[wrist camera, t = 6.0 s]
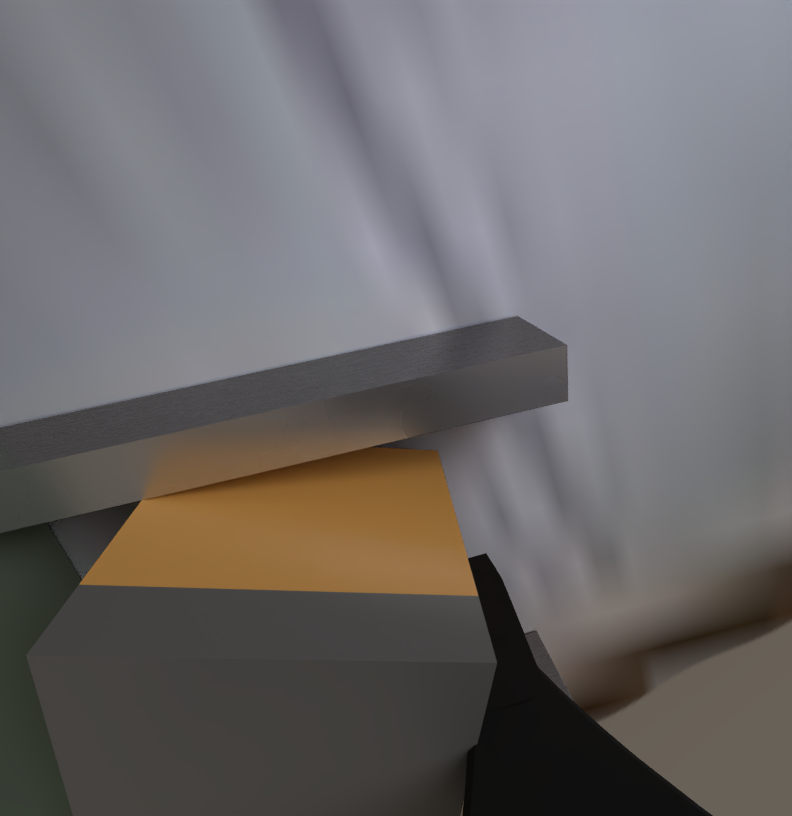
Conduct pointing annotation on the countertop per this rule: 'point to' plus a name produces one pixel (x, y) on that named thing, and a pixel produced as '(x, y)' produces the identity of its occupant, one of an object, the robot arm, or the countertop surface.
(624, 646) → the countertop surface
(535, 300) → the countertop surface
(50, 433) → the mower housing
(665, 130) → the countertop surface
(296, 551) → the orange-topped grey cube
